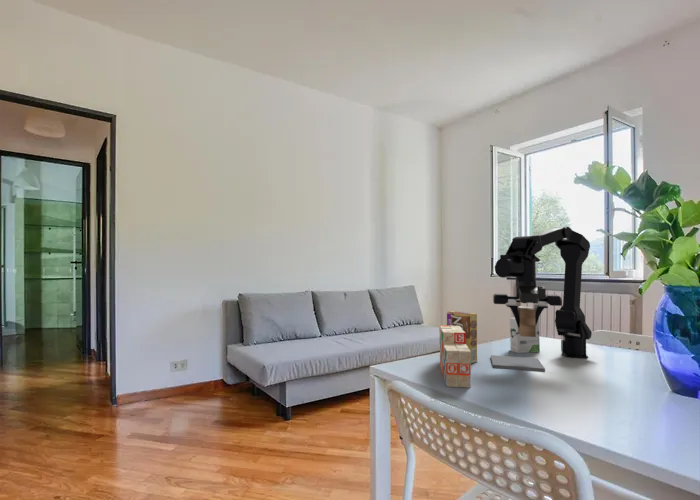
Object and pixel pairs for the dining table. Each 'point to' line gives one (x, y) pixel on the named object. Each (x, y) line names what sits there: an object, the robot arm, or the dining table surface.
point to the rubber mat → (517, 363)
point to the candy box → (466, 329)
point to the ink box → (523, 339)
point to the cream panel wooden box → (527, 321)
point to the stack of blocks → (454, 357)
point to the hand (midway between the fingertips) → (526, 327)
